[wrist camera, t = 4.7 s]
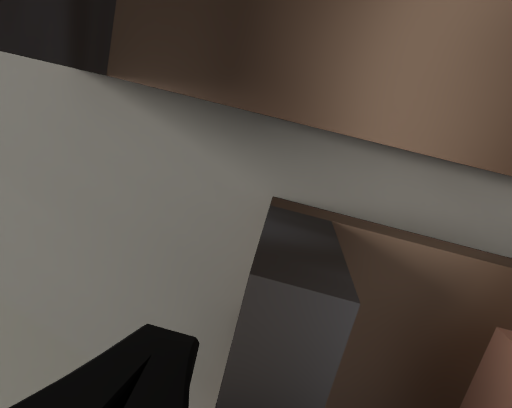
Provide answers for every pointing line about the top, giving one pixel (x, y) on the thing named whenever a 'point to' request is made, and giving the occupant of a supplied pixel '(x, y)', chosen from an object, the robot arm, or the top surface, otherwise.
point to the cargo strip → (361, 316)
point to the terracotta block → (493, 375)
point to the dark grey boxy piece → (303, 62)
